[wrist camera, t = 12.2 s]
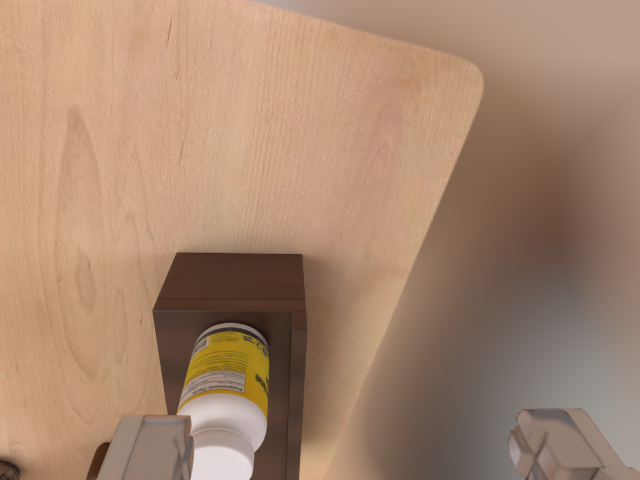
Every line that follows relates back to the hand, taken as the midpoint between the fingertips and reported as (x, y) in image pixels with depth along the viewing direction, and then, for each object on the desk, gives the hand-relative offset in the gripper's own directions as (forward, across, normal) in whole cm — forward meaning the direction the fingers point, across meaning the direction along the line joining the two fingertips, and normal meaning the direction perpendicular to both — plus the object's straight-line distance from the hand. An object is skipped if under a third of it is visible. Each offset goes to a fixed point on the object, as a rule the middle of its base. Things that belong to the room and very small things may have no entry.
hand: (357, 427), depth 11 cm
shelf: (+30, +6, +27) cm, 41 cm away
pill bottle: (+21, +6, +17) cm, 28 cm away
